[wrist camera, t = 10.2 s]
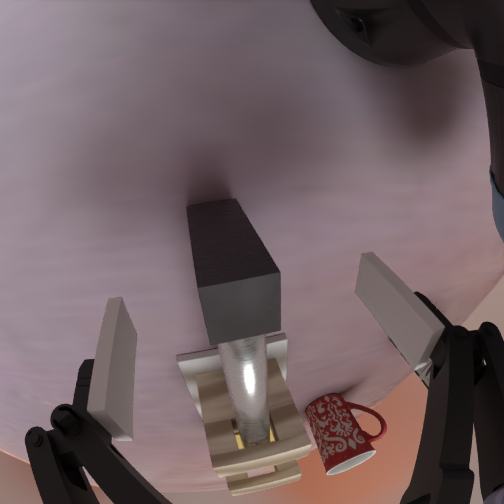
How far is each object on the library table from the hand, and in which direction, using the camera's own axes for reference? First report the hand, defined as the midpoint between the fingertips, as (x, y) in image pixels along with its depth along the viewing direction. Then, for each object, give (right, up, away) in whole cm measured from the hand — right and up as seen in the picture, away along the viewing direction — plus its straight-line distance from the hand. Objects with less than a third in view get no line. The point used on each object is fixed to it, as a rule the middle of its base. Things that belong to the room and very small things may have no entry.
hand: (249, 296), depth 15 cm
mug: (+15, -25, +32) cm, 43 cm away
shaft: (-2, -4, +14) cm, 15 cm away
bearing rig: (-2, -16, +22) cm, 28 cm away
